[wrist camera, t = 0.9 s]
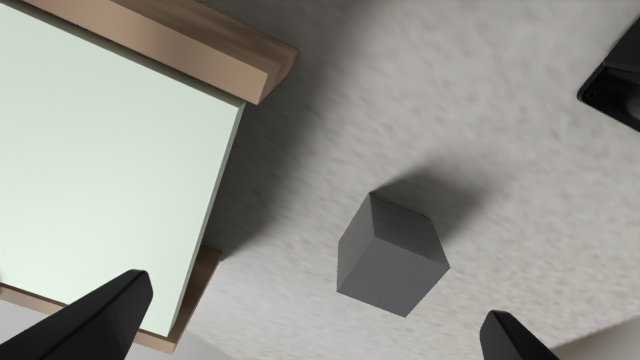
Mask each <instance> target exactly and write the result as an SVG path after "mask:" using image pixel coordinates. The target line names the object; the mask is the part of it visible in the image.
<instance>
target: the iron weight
mask: <svg viewBox="0 0 640 360" xmlns="http://www.w3.org/2000/svg"><path fill="white" fill-rule="evenodd" d="M449 269H450V266H449V263H448V261H447V258H446V256H445V253H444V251H443V249H442V246H441V244H440V241H439V239H438V236H437V234H436V231H435V229H434V227H433V224H432V222H431V219H429V218H427V217H425V216H422V215H420V214H418V213H415V212H413V211H411V210H408V209H406V208H404V207H402V206H399V205H397V204H395V203H392V202H390V201H388V200H385V199H383V198H381V197H378V196H376V195H374V194H371V193H368V195H367V197H366V198H365V200H364V202H363V203H362V205H361V206H360V208H359V210H358V211H357V213H356V215H355V216H354V218H353V219H352V221H351V223H350V224H349V226H348V228H347V229H346V231H345V232H344V234H343V236H342V237H341V239H340V241H339V244H338V271H337V292H338V293H341V294H344V295H346V296H349V297H352V298H354V299H357V300H360V301H362V302H365V303H367V304H370V305H373V306H375V307H378V308H381V309H383V310H386V311H389V312H391V313H394V314H397V315H399V316H402V317H406V316H407V315H408V314H409V313H410V312H411V311H412V310H413V309H414V307H415V306H416V305H417V304H418V303H419V302H420V301H421V300H422V299H423V297H424V296H425V295H426V294H427V293H428V292H429V291H430V290H431V289H432V288H433V286H434V285H435V284H436V283H437V282H438V281H439V280H440V279H441V278H442V276H443V275H444V274H445V273H446V272H447V271H448V270H449Z"/></svg>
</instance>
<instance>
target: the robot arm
mask: <svg viewBox="0 0 640 360" xmlns="http://www.w3.org/2000/svg"><path fill="white" fill-rule="evenodd" d="M591 90H592V93H591V95H590V96H589V97H586V95H587V93H588V92H589V91H591ZM577 99H578V100H579V101H580V102H582V103H584V104H586V105H588V106H590V107H592V108H594V109H595V110H597V111H599V112H601V113H603V114H605V115H607V116H609V117H611V118H613V119H615V120H616V121H618V122H620V123H622V124H624V125H626V126H628V127H630V128H632V129H634V130H635V131H637V132H639V133H640V18H639V19H638V20H637V21H636V23H635V24H634V25H633V26H632V27H631V28H630V30H629V31H628V32H627V33H626V34H625V36H624V37H623V38H622V39H621V40H620V41H619V43H618V44H617V45H616V46H615V47H614V48H613V50H612V51H611V52H610V53H609V54H608V56H607V57H606V58H605V59H604V61H603V62H602V64H601V65H600V66H599V67H598V68H597V69H596V71H595V72H594V73H593V74H592V75H591V77H590V78H589V79H588V80H587V81H586V82H585V84H584V85H583V86H582V87H581V88H580V89H579V91H578V93H577ZM152 299H153V288H152V284H151V281H150V277H149V274H148V272H147V271H146V270H139V269H130V270H128V271H126V272H124V273H122V274H121V275H119V276H117V277H115V278H114V279H112V280H110V281H109V282H107V283H105V284H103V285H102V286H100V287H98V288H97V289H95V290H93V291H91V292H90V293H88V294H86V295H85V296H83V297H81V298H79V299H78V300H76V301H74V302H72V303H71V304H69V305H67V306H66V307H64V308H62V309H60V310H59V311H57V312H55V313H54V314H52V315H50V316H48V317H47V318H45V319H43V320H42V321H40V322H38V323H36V324H35V325H33V326H31V327H30V328H28V329H26V330H24V331H23V332H21V333H19V334H18V335H16V336H14V337H12V338H11V339H9V340H7V341H6V342H4V343H2V344H0V360H124V359H125V357H126V355H127V353H128V351H129V349H130V347H131V345H132V343H133V340H134V338H135V336H136V334H137V332H138V330H139V328H140V325H141V323H142V321H143V319H144V317H145V315H146V312H147V310H148V308H149V306H150V304H151V302H152ZM480 342H481V347H482V352H483V356H484V360H560V359H559V358H558V357H557V356H556V355H555V354H554V353H553V352H551V351H550V350H549V349H548V348H547V347H546V346H545V345H544V344H543V343H542V342H541V341H540V340H538V339H537V338H536V337H535V336H534V335H533V334H532V333H531V332H530V331H529V330H528V329H527V328H526V327H524V326H523V325H522V324H521V323H520V322H519V321H518V320H517V319H516V318H515V317H514V316H513V315H511V314H510V313H509V312H506V311H499V310H491V311H490V312H489V313H488V315H487V317H486V319H485V321H484V323H483V325H482V327H481V329H480Z"/></svg>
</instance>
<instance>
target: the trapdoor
mask: <svg viewBox="0 0 640 360" xmlns="http://www.w3.org/2000/svg"><path fill="white" fill-rule="evenodd" d="M245 104H246V101H244V100H242V99H240V98H237V97H235V96H233V95H231V94H228V93H226V92H224V91H222V90H219V89H217V88H215V87H213V86H210V85H208V84H206V83H204V82H202V81H199V80H197V79H195V78H193V77H190V76H188V75H186V74H184V73H181V72H179V71H177V70H175V69H172V68H170V67H168V66H166V65H163V64H161V63H159V62H157V61H155V60H152V59H150V58H148V57H146V56H143V55H141V54H139V53H137V52H134V51H132V50H130V49H128V48H125V47H123V46H121V45H119V44H116V43H114V42H112V41H110V40H108V39H105V38H103V37H101V36H99V35H96V34H94V33H92V32H90V31H87V30H85V29H83V28H81V27H78V26H76V25H74V24H72V23H69V22H67V21H65V20H63V19H61V18H58V17H56V16H54V15H52V14H49V13H47V12H45V11H43V10H41V8H39V7H36V6H34V5H32V4H30V3H27V2H25V1H23V0H0V282H2V283H5V284H8V285H11V286H14V287H17V288H20V289H23V290H26V291H29V292H32V293H35V294H38V295H41V296H44V297H47V298H50V299H53V300H56V301H59V302H62V303H65V304H68V305H69V304H71V303H72V302H74V301H76V300H78V299H79V298H81V297H83V296H85V295H86V294H88V293H90V292H91V291H93V290H95V289H97V288H98V287H100V286H102V285H103V284H105V283H107V282H109V281H110V280H112V279H114V278H115V277H117V276H119V275H121V274H122V273H124V272H126V271H128V270H130V269H139V270H146V271H147V272H148V274H149V277H150V281H151V284H152V288H153V299H152V302H151V304H150V306H149V308H148V310H147V312H146V315H145V317H144V319H143V321H142V323H141V325H140V328H141V329H144V330H147V331H150V332H153V333H156V334H159V335H162V336H165V337H167V336H168V334H169V332H170V331H171V329H172V327H173V325H174V323H175V321H176V318H177V315H178V312H179V309H180V306H181V303H182V300H183V296H184V293H185V290H186V287H187V284H188V281H189V278H190V275H191V272H192V269H193V265H194V262H195V259H196V256H197V253H198V250H199V247H200V244H201V241H202V238H203V234H204V231H205V228H206V225H207V222H208V219H209V216H210V213H211V210H212V207H213V203H214V200H215V197H216V194H217V191H218V188H219V185H220V182H221V179H222V175H223V172H224V169H225V166H226V163H227V160H228V157H229V154H230V151H231V148H232V144H233V141H234V138H235V135H236V132H237V129H238V126H239V123H240V120H241V117H242V113H243V110H244V107H245Z"/></svg>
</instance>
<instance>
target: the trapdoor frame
mask: <svg viewBox="0 0 640 360" xmlns="http://www.w3.org/2000/svg"><path fill="white" fill-rule="evenodd" d="M23 1H25V2H27V3H30V4H32V5H34V6H36V7H39V8H41V9H43V10H45V11H48V12H50V13H52V14H54V15H57V16H59V17H61V18H63V19H65V20H68V21H70V22H72V23H74V24H77V25H79V26H81V27H83V28H86V29H88V30H90V31H92V32H95V33H97V34H99V35H101V36H103V37H106V38H108V39H110V40H112V41H115V42H117V43H119V44H121V45H124V46H126V47H128V48H130V49H133V50H135V51H137V52H139V53H141V54H144V55H146V56H148V57H150V58H153V59H155V60H157V61H159V62H162V63H164V64H166V65H168V66H171V67H173V68H175V69H177V70H179V71H182V72H184V73H186V74H188V75H191V76H193V77H195V78H197V79H200V80H202V81H204V82H206V83H209V84H211V85H213V86H215V87H218V88H220V89H222V90H224V91H226V92H229V93H231V94H233V95H235V96H238V97H240V98H242V99H244V100H247V101H249V102H251V103H253V104H256V105H258V104H259V103H260V102H261V101H262V100H263V99H264V98H265V97H266V96H267V95H268V94H269V93H270V92H271V91H272V90H273V89H274V88H275V87H276V86H277V85H278V84H279V83H280V82H281V81H282V80H283V79H284V78H285V77H286V76H287V75H288V74H289V73H290V72H291V71H292V68H293V66H294V63H295V60H296V58H297V55H298V52H299V50H298V49H296V48H293V47H291V46H289V45H287V44H285V43H283V42H281V41H279V40H277V39H275V38H273V37H271V36H268V35H266V34H264V33H262V32H260V31H258V30H256V29H254V28H252V27H250V26H248V25H246V24H244V23H241V22H239V21H237V20H235V19H233V18H231V17H229V16H227V15H225V14H223V13H221V12H219V11H217V10H214V9H212V8H210V7H208V6H206V5H204V4H202V3H200V2H198V1H196V0H23ZM222 254H223V253H221V252H218V251H216V250H213V249H210V248H208V247H205V246H202V245H200V247H199V250H198V253H197V256H196V259H195V262H194V265H193V269H192V272H191V275H190V278H189V281H188V284H187V287H186V290H185V293H184V296H183V300H182V303H181V306H180V309H179V312H178V315H177V318H176V321H175V323H174V325H173V327H172V329H171V331H170V332H169V334H168V336H167V337H165V336H162V335H159V334H156V333H153V332H150V331H147V330H144V329H141V328H139V330H138V332H137V334H136V336H135V338H134V340H133V342H134V343H137V344H141V345H143V346H147V347H150V348H153V349H156V350H159V351H162V352H165V353H168V354H171V355H172V354H173V352H174V350H175V348H176V345H177V344H178V342H179V340H180V338H181V336H182V334H183V332H184V330H185V328H186V326H187V324H188V322H189V320H190V318H191V317H192V315H193V313H194V311H195V309H196V307H197V305H198V303H199V301H200V299H201V297H202V295H203V293H204V291H205V289H206V287H207V285H208V283H209V281H210V280H211V278H212V276H213V274H214V272H215V270H216V268H217V266H218V264H219V262H220V259H221V256H222ZM0 299H1V300H4V301H8V302H11V303H14V304H17V305H20V306H23V307H26V308H29V309H32V310H35V311H38V312H41V313H45V314H48V315H52V314H54V313H55V312H57V311H59V310H60V309H62V308H64V307H66V306H67V305H68V304H65V303H62V302H59V301H56V300H53V299H50V298H47V297H44V296H41V295H38V294H35V293H32V292H29V291H26V290H23V289H20V288H17V287H14V286H11V285H8V284H5V283H2V282H0Z"/></svg>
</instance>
